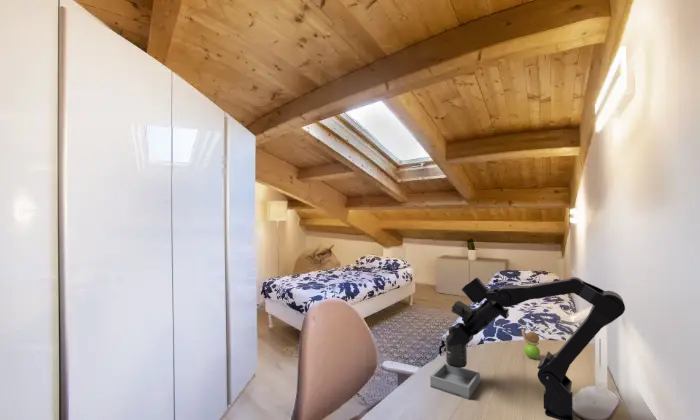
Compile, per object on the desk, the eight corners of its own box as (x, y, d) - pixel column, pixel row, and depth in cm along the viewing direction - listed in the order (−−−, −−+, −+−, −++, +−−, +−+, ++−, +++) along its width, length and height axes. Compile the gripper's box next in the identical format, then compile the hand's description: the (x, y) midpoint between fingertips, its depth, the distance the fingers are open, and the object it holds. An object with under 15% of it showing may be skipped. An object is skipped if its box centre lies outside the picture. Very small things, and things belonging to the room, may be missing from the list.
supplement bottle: (442, 364, 109) (441, 328, 109) (451, 357, 114) (451, 323, 114) (461, 370, 104) (460, 333, 104) (470, 363, 109) (469, 328, 109)
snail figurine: (522, 353, 132) (521, 324, 133) (540, 357, 129) (539, 326, 129) (521, 358, 127) (520, 328, 128) (540, 362, 124) (539, 330, 125)
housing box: (479, 383, 108) (479, 372, 108) (468, 399, 98) (468, 387, 98) (444, 372, 115) (444, 362, 115) (430, 386, 105) (430, 376, 105)
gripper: (474, 290, 115) (445, 316, 121) (456, 300, 100) (424, 329, 106) (498, 315, 110) (467, 341, 116) (483, 330, 95) (448, 358, 101)
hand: (452, 341), depth 110 cm, fingers closed on supplement bottle, 7 cm apart
